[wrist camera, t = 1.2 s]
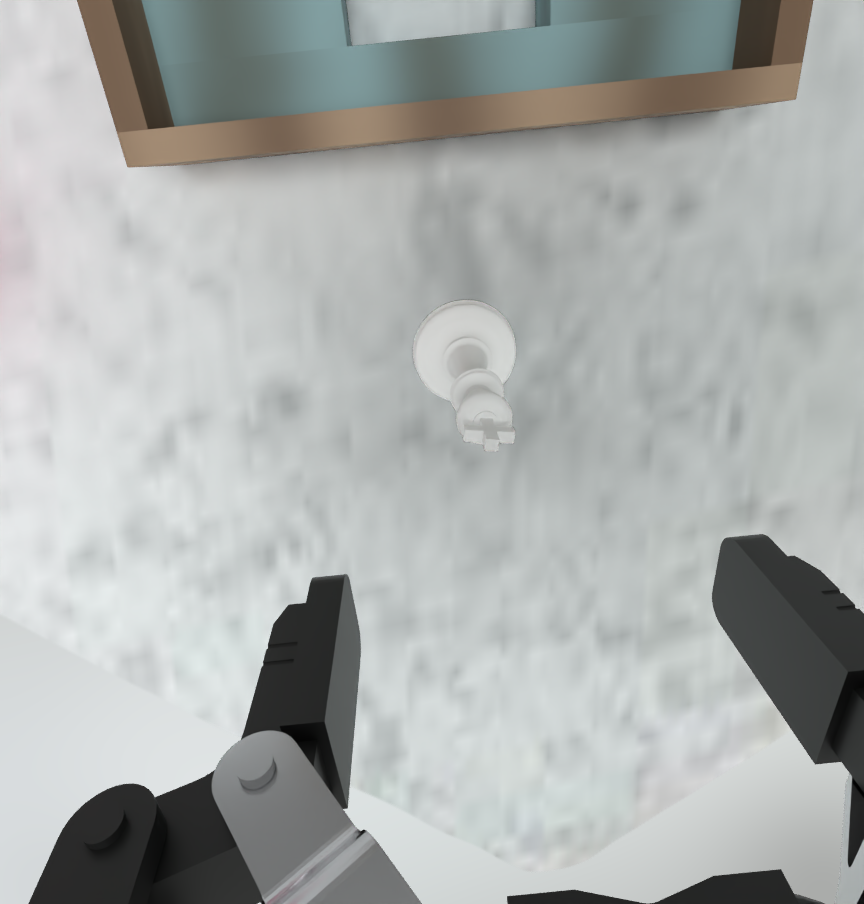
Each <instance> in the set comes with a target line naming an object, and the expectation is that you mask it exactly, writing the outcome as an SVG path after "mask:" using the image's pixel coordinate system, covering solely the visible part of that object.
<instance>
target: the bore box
mask: <svg viewBox="0 0 864 904" xmlns="http://www.w3.org/2000/svg"><path fill="white" fill-rule="evenodd" d="M77 2H78V5H79V9H80V12H81V15H82V18H83V22H84V25H85V28H86V32H87V35H88V38H89V42H90V45H91V48H92V51H93V55H94V58H95V61H96V65H97V68H98V71H99V75H100V78H101V81H102V84H103V88H104V91H105V94H106V98H107V101H108V104H109V108H110V111H111V114H112V118H113V121H114V124H115V127H116V131H117V134H118V137H119V141H120V144H121V147H122V151H123V154H124V157H125V160H126V164H127V167H149V166H174V165H188V164H198V163H208V162H217V161H227V160H237V159H247V158H257V157H266V156H276V155H286V154H296V153H306V152H316V151H325V150H335V149H345V148H355V147H365V146H375V145H384V144H394V143H404V142H414V141H424V140H433V139H443V138H453V137H463V136H473V135H483V134H492V133H502V132H512V131H522V130H532V129H542V128H551V127H561V126H571V125H581V124H591V123H600V122H610V121H620V120H630V119H640V118H650V117H659V116H669V115H679V114H689V113H699V112H709V111H718V110H726V109H733V108H740V107H747V106H753V105H760V104H767V103H774V102H781V101H788V100H795V99H796V96H797V90H798V84H799V79H800V73H801V67H802V62H803V56H804V50H805V45H806V39H807V33H808V28H809V22H810V16H811V11H812V5H813V0H536V27H532V28H522V29H512V30H503V31H493V32H483V33H473V34H464V35H454V36H444V37H434V38H425V39H415V40H405V41H396V42H386V43H376V44H366V45H357V46H351V39H350V31H349V23H348V15H347V7H346V0H77Z"/></svg>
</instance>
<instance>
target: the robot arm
mask: <svg viewBox="0 0 864 904" xmlns="http://www.w3.org/2000/svg"><path fill="white" fill-rule="evenodd" d="M712 602H713V608H714V611H715V614H716V617H717V619H718V621H719V623H720V625H721V626H722V627H723V629H724V630H725V632H726V633H727V635H728V636H729V638H730V639H731V641H732V642H733V644H734V645H735V647H736V648H737V650H738V651H739V653H740V654H741V656H742V657H743V659H744V660H745V661H746V663H747V664H748V666H749V667H750V669H751V670H752V672H753V673H754V675H755V676H756V678H757V679H758V681H759V682H760V684H761V685H762V687H763V688H764V690H765V691H766V693H767V694H768V695H769V697H770V698H771V700H772V701H773V703H774V704H775V706H776V707H777V709H778V710H779V712H780V713H781V715H782V716H783V718H784V719H785V721H786V722H787V724H788V725H789V726H790V728H791V729H792V731H793V732H794V734H795V735H796V737H797V738H798V740H799V741H800V743H801V744H802V745H803V747H804V749H805V750H806V751H807V753H808V755H809V756H810V757H811V759H812V760H813V762H814V763H815V764H823V763H833V762H842V763H843V764H844V766H845V767H846V769H847V770H848V771H849V773H850V774H849V776H848V779H847V781H846V787H845V802H844V817H843V834H842V848H841V863H840V877H839V884H838V891H837V895H836V899H835V902H834V904H864V613H863V612H862V611H861V610H860V609H856V608H855V604H854V603H853V602H852V601H851V600H850V599H849V598H848V597H847V596H846V595H845V594H844V593H840V591H839V589H838V588H837V587H836V586H835V585H834V584H833V583H832V582H831V581H830V580H829V579H828V578H827V577H826V576H825V575H824V574H823V573H822V572H821V571H820V570H818V569H817V568H815V567H813V566H811V565H810V564H808V563H806V562H805V561H803V560H801V559H799V558H798V557H796V556H786V555H785V553H784V552H783V551H782V550H781V549H780V548H779V547H778V546H777V545H776V544H775V543H774V542H773V541H772V540H771V539H770V538H769V537H768V536H766V535H763V534H759V535H749V536H739V537H729V538H725V539H724V540H723V542H722V544H721V548H720V553H719V559H718V564H717V570H716V575H715V580H714V586H713V592H712ZM360 656H361V643H360V631H359V625H358V620H357V615H356V610H355V605H354V600H353V595H352V590H351V585H350V580H349V577H348V575H347V574H345V575H335V576H325V577H315V578H312V580H311V583H310V587H309V592H308V596H307V601H306V603H302V604H292V605H288V606H287V607H286V609H285V610H284V611H283V613H282V614H281V615H280V616H279V618H278V619H277V620H276V622H275V623H274V625H273V628H272V632H271V635H270V639H269V643H268V649H267V650H266V654H265V657H264V661H263V666H262V668H261V672H260V675H259V679H258V682H257V686H256V690H255V693H254V697H253V701H252V704H251V708H250V711H249V715H248V719H247V722H246V726H245V729H244V733H243V735H242V738H241V740H240V741H238V742H237V743H236V744H235V745H233V746H232V747H231V748H230V749H229V750H228V751H227V752H226V753H225V754H224V756H223V757H222V758H221V760H220V761H219V763H218V765H217V767H216V769H215V770H214V771H213V772H211V773H210V774H208V775H206V776H205V777H203V778H201V779H199V780H197V781H194V782H192V783H189V784H187V785H185V786H182V787H179V788H177V789H175V790H172V791H170V792H167V793H165V794H162V795H160V796H157V797H154V795H153V794H152V793H151V791H150V790H149V789H147V788H146V787H144V786H141V785H138V784H123V785H119V786H115V787H112V788H109V789H107V790H105V791H103V792H101V793H100V794H98V795H96V796H95V797H93V798H92V799H90V800H89V801H88V802H86V803H85V804H84V805H83V806H82V807H81V808H80V809H79V810H78V811H77V812H75V814H74V815H73V816H72V817H71V818H70V820H69V821H68V822H67V824H66V825H65V827H64V828H63V830H62V832H61V834H60V836H59V837H58V840H57V842H56V844H55V846H54V849H53V851H52V853H51V855H50V857H49V860H48V862H47V864H46V866H45V869H44V871H43V873H42V875H41V877H40V879H39V882H38V884H37V887H36V888H35V891H34V893H33V895H32V897H31V899H30V902H29V904H257V903H259V902H261V904H422V903H421V902H420V901H419V899H418V898H417V896H416V895H415V894H414V892H413V891H412V889H411V888H410V887H409V885H408V884H407V882H406V881H405V880H404V878H403V877H402V876H401V874H400V873H399V871H398V870H397V869H396V867H395V866H394V865H393V863H392V862H391V860H390V859H389V858H388V856H387V855H386V854H385V852H384V851H383V849H382V848H381V847H380V845H379V844H378V842H377V841H376V840H375V839H374V838H373V837H372V835H371V834H370V833H369V832H367V831H366V830H362V831H359V830H358V829H357V828H356V827H355V825H354V824H353V823H352V821H351V820H350V819H349V817H348V816H347V814H346V813H345V811H344V810H343V809H346V808H348V798H349V786H350V775H351V763H352V751H353V739H354V728H355V716H356V704H357V692H358V681H359V669H360ZM507 902H508V904H646V903H639V902H634V901H629V900H624V899H619V898H614V897H609V896H604V895H598V894H593V893H588V892H583V891H578V890H567V891H557V892H547V893H537V894H527V895H516V896H507ZM650 904H824V903H822V902H819V901H816V900H813V899H810V898H807V897H804V896H801V895H797V894H794V893H793V891H792V890H791V888H790V886H789V884H788V882H787V880H786V878H785V876H784V874H783V872H782V871H781V869H780V870H770V871H760V872H750V873H739V874H730V875H719V876H713V877H710V878H709V879H706V880H704V881H702V882H700V883H698V884H695V885H693V886H691V887H689V888H687V889H685V890H682V891H680V892H678V893H676V894H674V895H671V896H669V897H667V898H665V899H663V900H660V901H659V902H655V903H650Z"/></svg>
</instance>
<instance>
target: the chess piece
mask: <svg viewBox="0 0 864 904" xmlns="http://www.w3.org/2000/svg"><path fill="white" fill-rule="evenodd" d="M515 359H516V344H515V337H514V334H513V331H512V328H511V326H510V324H509V323H508V321H507V320H506V318H505V317H504V316H503V315H502V314H501V313H500V312H499V311H498V310H496V309H495V308H493V307H492V306H490V305H488V304H486V303H483V302H479V301H475V300H457V301H453V302H449V303H447V304H444V305H442V306H440V307H438V308H437V309H435V310H434V311H433V312H431V313H430V314H429V315H428V316H427V317H426V318H425V319H424V321H423V322H422V323H421V325H420V327H419V329H418V331H417V333H416V336H415V339H414V343H413V360H414V365H415V368H416V370H417V373H418V375H419V376H420V378H421V380H422V381H423V383H424V384H425V385H426V387H427V388H428V389H429V390H430V391H432V392H433V393H434V394H436V395H437V396H439V397H441V398H443V399H445V400H448V401H451V404H452V406H453V408H454V409H455V410H456V411H457V415H456V424H457V428H458V430H459V432H460V433H461V435H462V436H463V440H464V442H472V443H475V444H480V445H483V447H484V450H485V451H493V452H498V447H499V443H505V444H514V438H515V430H514V427H511V424H512V418H513V416H512V410H511V407H510V405H509V404H508V402H507V401H506V400H505V399H504V387H503V384H504V383H505V382H506V381H507V379H508V378H509V376H510V374H511V372H512V370H513V367H514V364H515Z"/></svg>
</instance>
